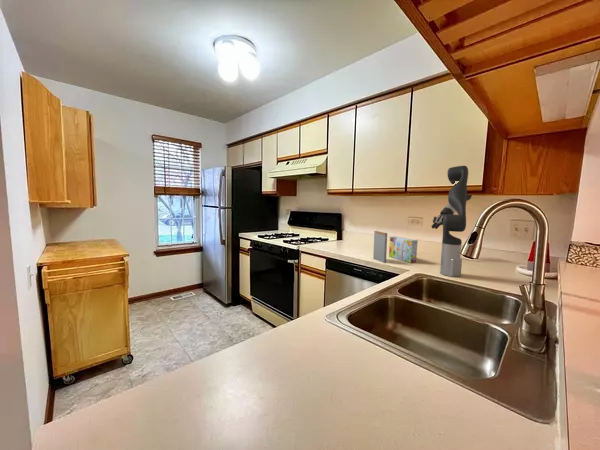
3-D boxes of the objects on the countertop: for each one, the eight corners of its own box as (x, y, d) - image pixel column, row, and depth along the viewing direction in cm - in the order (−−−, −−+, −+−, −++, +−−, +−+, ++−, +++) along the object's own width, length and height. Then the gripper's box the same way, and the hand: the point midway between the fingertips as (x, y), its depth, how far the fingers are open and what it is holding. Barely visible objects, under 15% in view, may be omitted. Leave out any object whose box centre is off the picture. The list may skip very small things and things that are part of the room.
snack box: (416, 262, 172) (418, 240, 171) (410, 263, 170) (411, 240, 169) (394, 256, 192) (395, 235, 190) (388, 256, 190) (389, 236, 188)
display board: (386, 262, 170) (387, 233, 168) (383, 262, 170) (385, 233, 168) (375, 258, 183) (376, 230, 181) (373, 258, 182) (374, 230, 180)
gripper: (438, 206, 192) (423, 223, 190) (454, 207, 178) (438, 225, 176) (444, 213, 194) (429, 230, 191) (460, 214, 180) (444, 232, 178)
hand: (433, 227), depth 184 cm, fingers closed
